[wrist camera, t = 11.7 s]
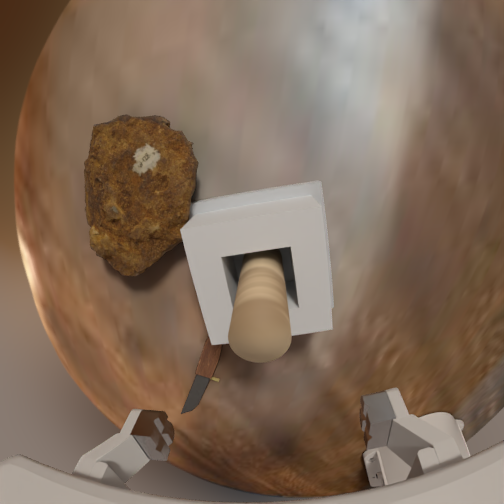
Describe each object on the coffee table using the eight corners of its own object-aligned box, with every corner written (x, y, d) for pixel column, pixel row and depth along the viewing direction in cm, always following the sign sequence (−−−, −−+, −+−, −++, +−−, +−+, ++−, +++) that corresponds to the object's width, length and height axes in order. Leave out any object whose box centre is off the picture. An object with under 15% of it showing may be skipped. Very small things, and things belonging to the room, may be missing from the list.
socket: (332, 302, 30) (344, 336, 24) (213, 319, 31) (203, 355, 25) (319, 180, 26) (333, 190, 20) (184, 203, 27) (164, 218, 21)
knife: (201, 423, 36) (180, 416, 36) (202, 417, 37) (181, 411, 37) (239, 331, 30) (211, 322, 30) (240, 325, 31) (212, 316, 31)
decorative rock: (195, 275, 30) (207, 119, 26) (188, 293, 26) (200, 113, 22) (92, 264, 30) (94, 119, 25) (74, 278, 26) (74, 116, 21)
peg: (284, 273, 28) (294, 358, 16) (247, 279, 28) (235, 365, 17) (278, 238, 27) (287, 307, 15) (240, 244, 27) (221, 316, 16)
